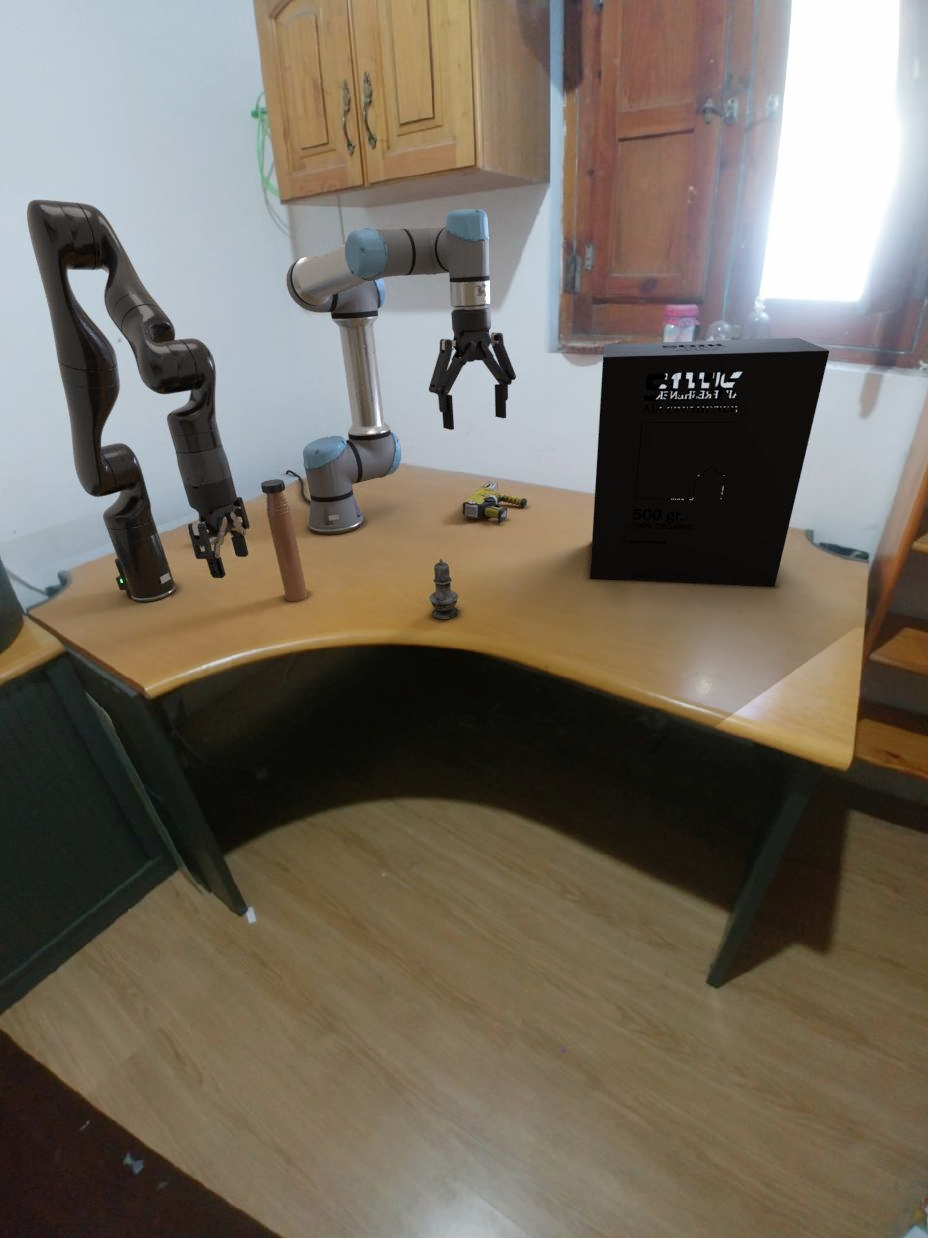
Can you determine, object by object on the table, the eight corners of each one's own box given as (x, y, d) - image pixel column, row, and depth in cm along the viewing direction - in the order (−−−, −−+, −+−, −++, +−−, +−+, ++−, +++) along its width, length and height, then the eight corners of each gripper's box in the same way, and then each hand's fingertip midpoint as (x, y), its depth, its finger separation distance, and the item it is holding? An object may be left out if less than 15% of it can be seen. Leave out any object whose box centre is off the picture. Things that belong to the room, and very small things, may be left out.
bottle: (309, 598, 131) (286, 485, 119) (287, 603, 130) (262, 489, 117) (305, 589, 135) (282, 479, 123) (284, 594, 134) (259, 483, 121)
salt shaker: (456, 620, 119) (452, 565, 113) (427, 618, 121) (422, 564, 115) (462, 606, 124) (458, 552, 118) (434, 604, 126) (429, 551, 120)
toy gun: (534, 486, 180) (487, 479, 184) (513, 510, 160) (461, 501, 164) (533, 501, 182) (486, 494, 186) (512, 527, 162) (460, 518, 166)
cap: (286, 491, 119) (285, 483, 119) (263, 495, 118) (261, 487, 117) (283, 485, 123) (282, 477, 122) (261, 489, 122) (259, 481, 121)
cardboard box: (755, 547, 142) (798, 337, 120) (774, 586, 125) (829, 350, 102) (592, 542, 150) (603, 344, 127) (589, 578, 133) (603, 356, 110)
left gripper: (207, 463, 104) (230, 549, 112) (160, 489, 92) (189, 584, 100) (248, 462, 103) (268, 550, 111) (205, 489, 91) (231, 585, 99)
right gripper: (426, 313, 105) (435, 436, 116) (533, 302, 118) (532, 415, 128) (404, 312, 111) (415, 430, 121) (508, 302, 123) (509, 410, 134)
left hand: (231, 566), depth 106 cm, fingers open, 8 cm apart
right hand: (475, 422), depth 125 cm, fingers open, 13 cm apart
